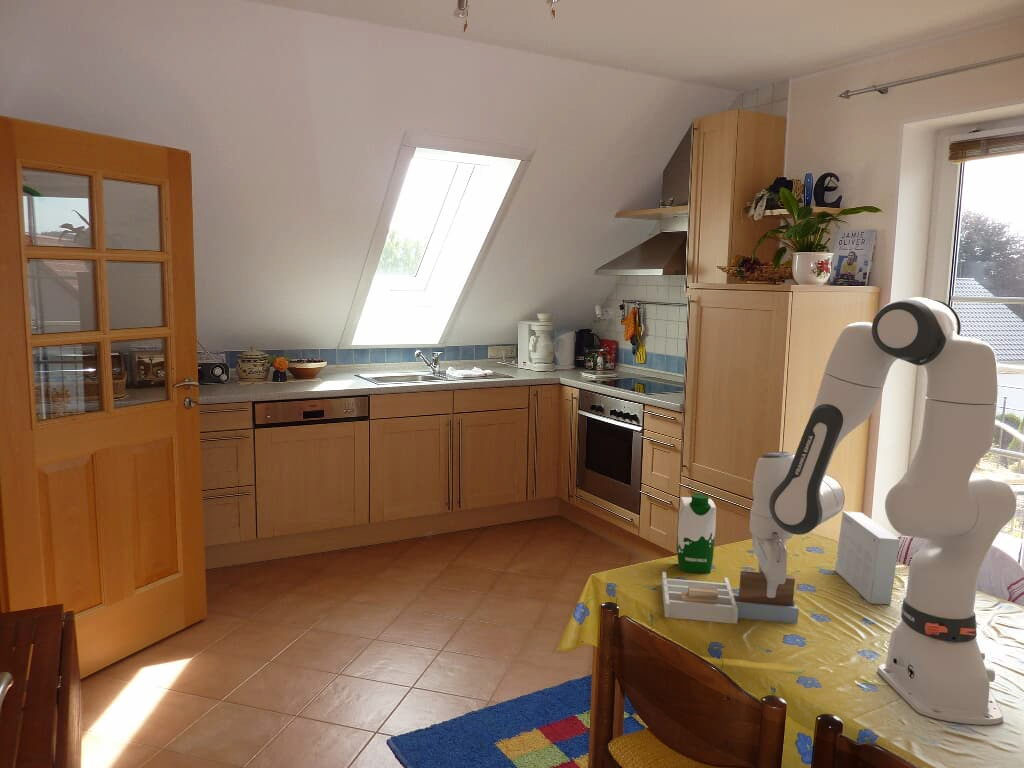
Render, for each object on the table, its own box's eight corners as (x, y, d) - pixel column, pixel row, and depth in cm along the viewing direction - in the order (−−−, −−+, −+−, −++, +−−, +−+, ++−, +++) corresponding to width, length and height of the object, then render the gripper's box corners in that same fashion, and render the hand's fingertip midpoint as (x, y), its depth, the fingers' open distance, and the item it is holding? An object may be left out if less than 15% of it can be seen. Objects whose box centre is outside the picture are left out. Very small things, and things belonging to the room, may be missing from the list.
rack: (736, 627, 165) (738, 610, 164) (664, 621, 167) (665, 603, 167) (726, 593, 183) (727, 577, 182) (661, 588, 185) (662, 571, 184)
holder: (797, 627, 166) (799, 609, 165) (734, 621, 168) (736, 604, 167) (792, 615, 172) (793, 598, 171) (731, 610, 174) (732, 592, 173)
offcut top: (717, 600, 167) (718, 592, 167) (689, 598, 168) (689, 590, 168) (716, 595, 170) (716, 587, 170) (688, 592, 171) (688, 584, 171)
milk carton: (677, 576, 192) (683, 497, 189) (674, 563, 201) (678, 487, 198) (714, 578, 191) (719, 500, 189) (708, 565, 200) (714, 489, 197)
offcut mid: (714, 608, 168) (715, 600, 167) (681, 605, 169) (681, 597, 168) (713, 602, 171) (713, 594, 170) (680, 599, 172) (681, 591, 171)
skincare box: (893, 605, 179) (900, 539, 177) (869, 604, 179) (876, 538, 177) (855, 570, 200) (861, 510, 198) (834, 570, 200) (839, 510, 198)
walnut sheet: (791, 618, 168) (795, 578, 167) (738, 613, 170) (741, 574, 168) (789, 614, 170) (793, 575, 169) (737, 610, 172) (740, 570, 170)
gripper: (797, 543, 156) (791, 609, 158) (778, 513, 176) (773, 571, 178) (764, 541, 157) (759, 606, 159) (749, 510, 177) (744, 569, 179)
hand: (766, 587), depth 169 cm, fingers open, 8 cm apart
